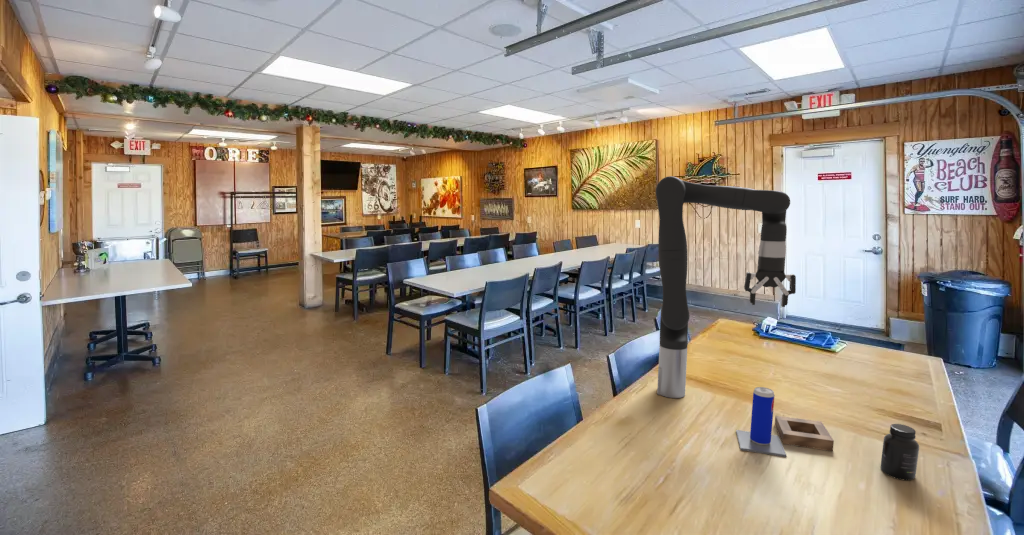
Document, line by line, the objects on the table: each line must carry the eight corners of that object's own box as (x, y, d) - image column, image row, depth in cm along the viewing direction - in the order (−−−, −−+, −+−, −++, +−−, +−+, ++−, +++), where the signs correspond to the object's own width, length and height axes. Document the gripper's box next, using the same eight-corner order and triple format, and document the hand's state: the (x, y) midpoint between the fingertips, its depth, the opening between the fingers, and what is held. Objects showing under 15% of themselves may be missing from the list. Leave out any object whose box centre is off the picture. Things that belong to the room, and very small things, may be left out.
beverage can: (773, 446, 130) (777, 394, 127) (752, 445, 131) (756, 393, 129) (767, 437, 135) (771, 387, 132) (747, 436, 136) (751, 385, 134)
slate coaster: (740, 449, 129) (740, 447, 129) (736, 431, 139) (736, 429, 139) (786, 457, 126) (786, 454, 126) (778, 437, 136) (778, 435, 136)
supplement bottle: (873, 466, 121) (878, 421, 120) (898, 465, 122) (903, 420, 120) (897, 482, 114) (902, 435, 113) (923, 480, 115) (929, 433, 113)
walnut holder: (782, 443, 132) (783, 433, 132) (774, 424, 144) (775, 415, 143) (832, 451, 129) (833, 440, 128) (820, 431, 140) (821, 421, 139)
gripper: (748, 255, 148) (744, 306, 151) (800, 257, 144) (796, 309, 146) (745, 253, 155) (742, 301, 158) (794, 254, 151) (790, 304, 153)
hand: (768, 305), depth 152 cm, fingers open, 8 cm apart
